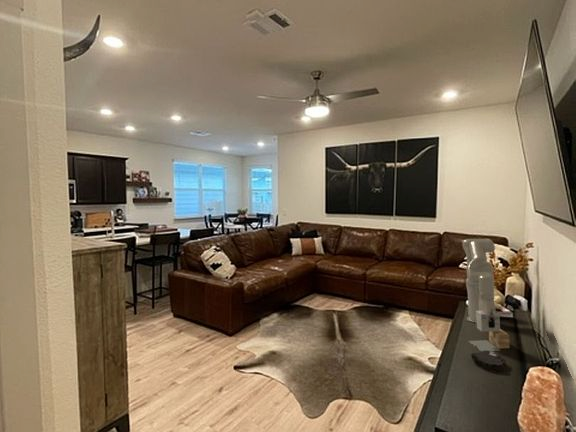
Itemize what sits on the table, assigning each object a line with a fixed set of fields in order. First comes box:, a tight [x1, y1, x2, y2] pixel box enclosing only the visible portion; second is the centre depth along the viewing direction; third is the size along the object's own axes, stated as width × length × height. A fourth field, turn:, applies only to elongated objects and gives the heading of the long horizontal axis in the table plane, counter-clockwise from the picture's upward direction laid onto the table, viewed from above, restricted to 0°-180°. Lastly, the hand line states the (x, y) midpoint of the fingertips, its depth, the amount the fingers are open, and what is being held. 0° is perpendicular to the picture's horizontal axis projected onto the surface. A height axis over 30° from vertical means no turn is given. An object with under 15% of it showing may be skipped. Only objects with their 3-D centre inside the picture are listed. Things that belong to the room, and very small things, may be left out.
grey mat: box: [468, 339, 501, 352], centre depth 194 cm, size 14×11×1 cm
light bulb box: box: [476, 310, 501, 333], centre depth 194 cm, size 11×7×11 cm, turn 84°
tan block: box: [488, 328, 511, 349], centre depth 194 cm, size 10×6×8 cm, turn 178°
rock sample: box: [470, 350, 507, 373], centre depth 173 cm, size 18×16×5 cm
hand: (488, 324), depth 194 cm, fingers closed on light bulb box, 6 cm apart
